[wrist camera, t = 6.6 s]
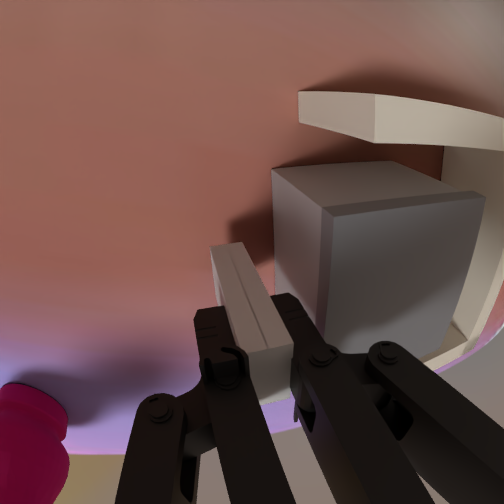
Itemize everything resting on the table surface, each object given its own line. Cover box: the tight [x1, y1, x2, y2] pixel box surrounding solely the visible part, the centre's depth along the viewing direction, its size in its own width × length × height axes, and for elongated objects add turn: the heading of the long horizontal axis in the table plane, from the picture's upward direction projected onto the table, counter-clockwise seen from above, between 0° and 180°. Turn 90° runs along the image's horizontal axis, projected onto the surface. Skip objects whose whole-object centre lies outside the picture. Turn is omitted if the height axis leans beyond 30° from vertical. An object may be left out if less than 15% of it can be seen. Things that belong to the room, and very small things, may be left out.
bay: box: [298, 91, 504, 371], centre depth 15 cm, size 15×12×6 cm
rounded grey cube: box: [271, 161, 486, 359], centre depth 14 cm, size 8×7×7 cm
